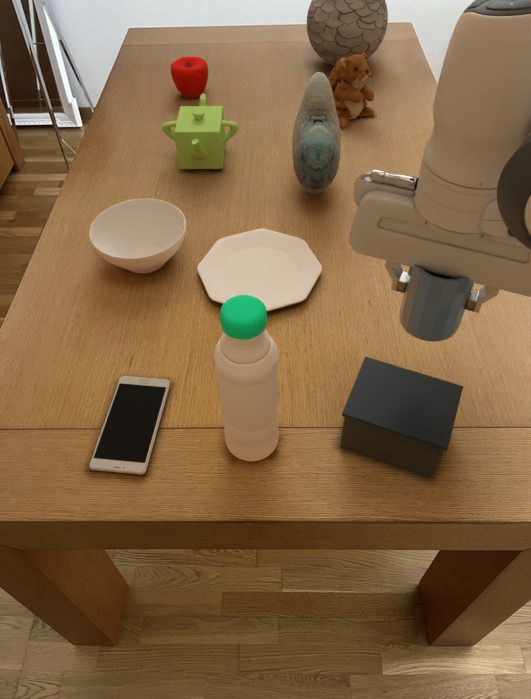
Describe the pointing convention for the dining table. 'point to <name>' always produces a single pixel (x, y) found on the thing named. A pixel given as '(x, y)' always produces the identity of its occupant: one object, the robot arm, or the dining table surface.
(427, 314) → the cup
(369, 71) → the stuffed squirrel
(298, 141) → the decorative stone
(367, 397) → the container
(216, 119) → the teapot
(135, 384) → the smartphone
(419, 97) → the dining table surface
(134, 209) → the bowl
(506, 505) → the dining table surface
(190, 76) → the apple
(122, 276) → the dining table surface
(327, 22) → the decorative sphere
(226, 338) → the water bottle
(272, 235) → the plate
